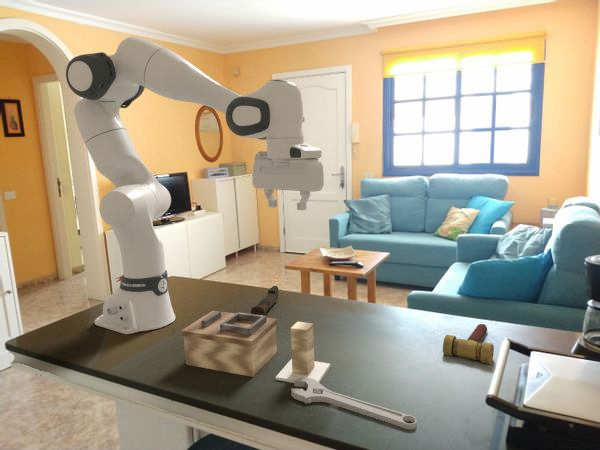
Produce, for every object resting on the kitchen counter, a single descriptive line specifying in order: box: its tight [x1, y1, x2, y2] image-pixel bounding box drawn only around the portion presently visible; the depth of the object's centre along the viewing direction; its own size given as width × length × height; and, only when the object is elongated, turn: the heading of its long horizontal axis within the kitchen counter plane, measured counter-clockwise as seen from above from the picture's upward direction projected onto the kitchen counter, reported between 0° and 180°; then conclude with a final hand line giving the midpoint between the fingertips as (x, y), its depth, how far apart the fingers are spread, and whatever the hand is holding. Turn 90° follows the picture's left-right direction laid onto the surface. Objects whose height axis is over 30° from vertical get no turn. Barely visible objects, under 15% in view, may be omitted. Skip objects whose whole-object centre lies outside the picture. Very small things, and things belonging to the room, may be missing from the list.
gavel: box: [442, 323, 495, 366], centre depth 106 cm, size 21×5×10 cm
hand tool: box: [250, 285, 279, 316], centre depth 133 cm, size 19×4×5 cm, turn 163°
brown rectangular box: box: [180, 310, 278, 377], centre depth 101 cm, size 18×13×10 cm
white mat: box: [275, 358, 331, 384], centre depth 94 cm, size 9×9×1 cm
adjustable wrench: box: [290, 378, 418, 430], centre depth 81 cm, size 25×6×2 cm, turn 53°
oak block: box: [290, 321, 315, 376], centre depth 94 cm, size 4×4×10 cm
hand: (286, 208), depth 108 cm, fingers open, 8 cm apart
